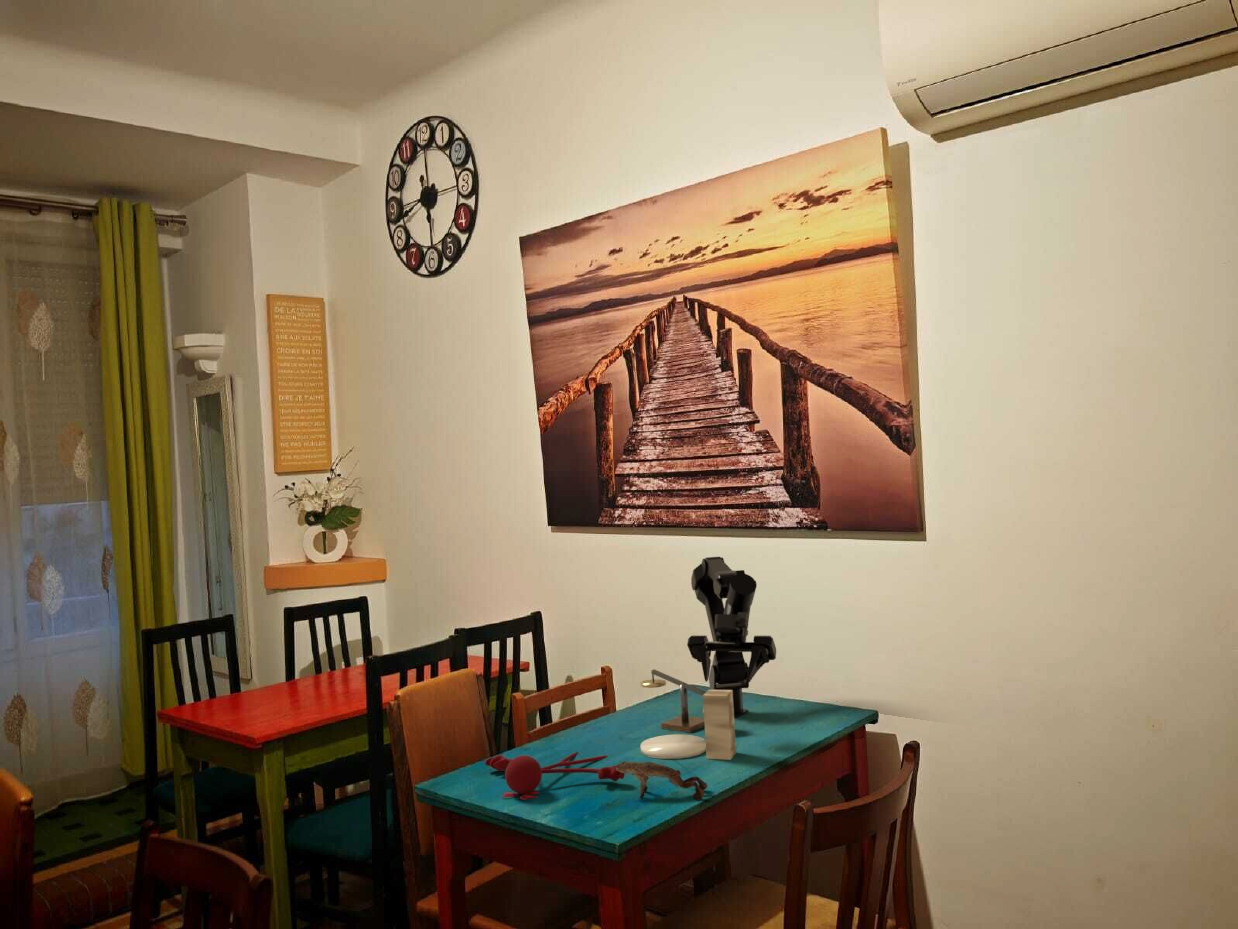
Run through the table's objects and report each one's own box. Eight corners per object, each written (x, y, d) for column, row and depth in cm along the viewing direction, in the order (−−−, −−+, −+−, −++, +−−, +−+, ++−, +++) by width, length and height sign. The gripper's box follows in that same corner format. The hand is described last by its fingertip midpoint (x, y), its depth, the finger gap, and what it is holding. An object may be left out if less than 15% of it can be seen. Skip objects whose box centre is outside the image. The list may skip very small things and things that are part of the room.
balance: (656, 716, 246) (652, 665, 246) (738, 728, 231) (734, 673, 231) (635, 724, 240) (632, 672, 240) (718, 737, 225) (714, 681, 225)
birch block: (712, 751, 214) (709, 689, 214) (736, 752, 212) (732, 690, 212) (706, 758, 209) (702, 695, 209) (730, 759, 208) (726, 695, 208)
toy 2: (681, 821, 191) (614, 768, 193) (710, 783, 190) (642, 730, 192) (676, 832, 185) (607, 777, 188) (706, 793, 184) (636, 738, 187)
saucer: (667, 737, 227) (667, 731, 227) (719, 745, 218) (719, 739, 218) (627, 753, 217) (627, 747, 217) (680, 762, 208) (680, 756, 208)
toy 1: (531, 766, 224) (447, 791, 198) (532, 731, 225) (448, 751, 199) (662, 781, 209) (590, 809, 183) (663, 744, 210) (591, 766, 184)
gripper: (686, 599, 226) (675, 659, 216) (770, 598, 220) (763, 660, 210) (698, 628, 234) (688, 688, 224) (779, 628, 228) (772, 689, 217)
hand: (726, 680), depth 218 cm, fingers open, 9 cm apart
